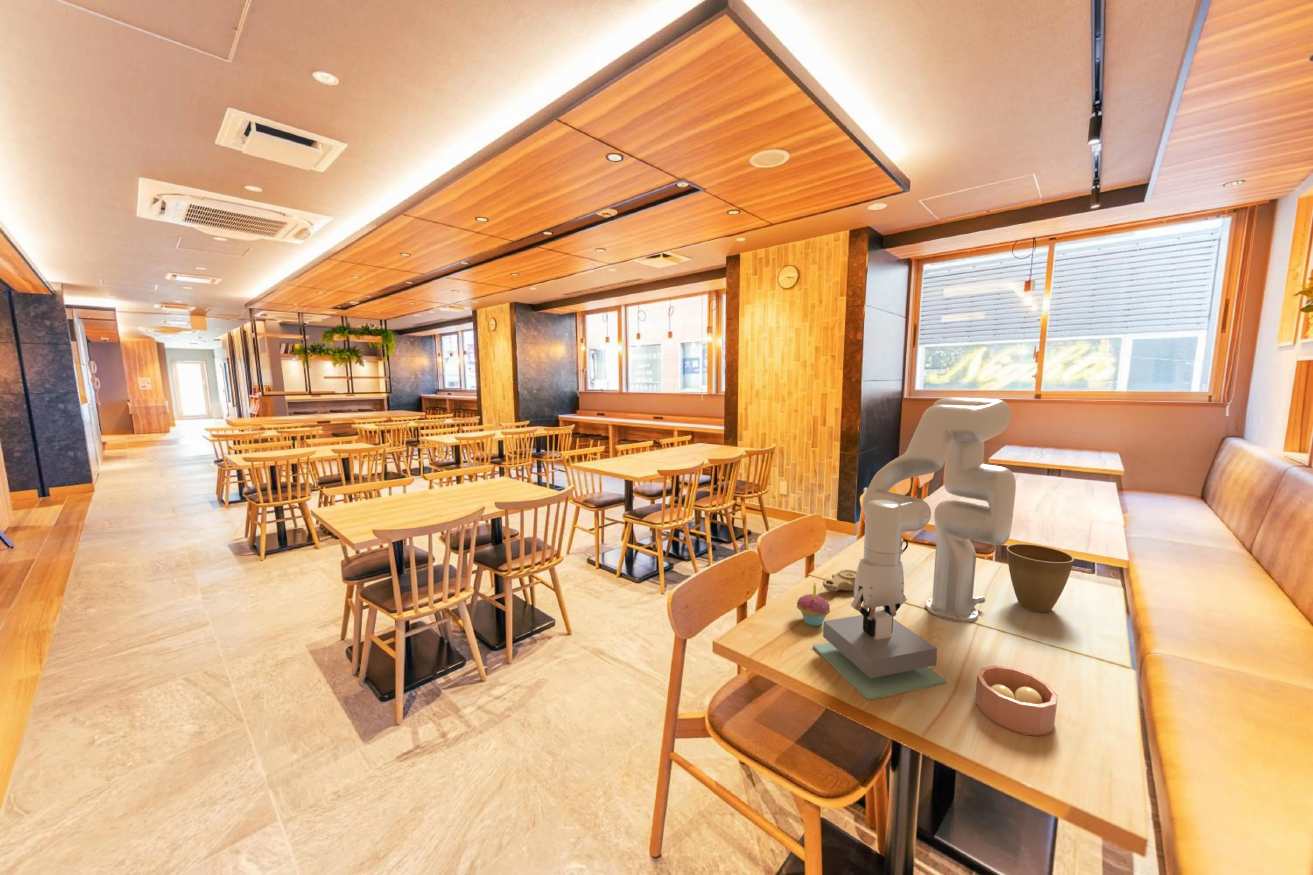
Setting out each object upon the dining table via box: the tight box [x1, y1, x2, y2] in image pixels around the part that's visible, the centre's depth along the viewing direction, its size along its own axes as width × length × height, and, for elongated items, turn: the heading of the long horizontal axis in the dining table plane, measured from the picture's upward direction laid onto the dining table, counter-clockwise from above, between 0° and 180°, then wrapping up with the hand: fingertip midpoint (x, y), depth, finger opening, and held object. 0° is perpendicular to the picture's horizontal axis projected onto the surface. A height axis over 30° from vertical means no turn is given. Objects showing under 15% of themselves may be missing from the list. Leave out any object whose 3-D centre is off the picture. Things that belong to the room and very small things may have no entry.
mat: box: [812, 641, 948, 701], centre depth 113 cm, size 20×20×1 cm
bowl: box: [974, 664, 1059, 737], centre depth 96 cm, size 12×12×6 cm
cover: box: [822, 607, 938, 678], centre depth 112 cm, size 17×17×9 cm
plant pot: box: [1006, 543, 1075, 613], centre depth 138 cm, size 15×15×16 cm
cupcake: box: [796, 584, 831, 627], centre depth 131 cm, size 9×8×12 cm
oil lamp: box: [822, 569, 857, 592], centre depth 150 cm, size 11×14×5 cm
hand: (877, 631), depth 112 cm, fingers closed on cover, 4 cm apart
